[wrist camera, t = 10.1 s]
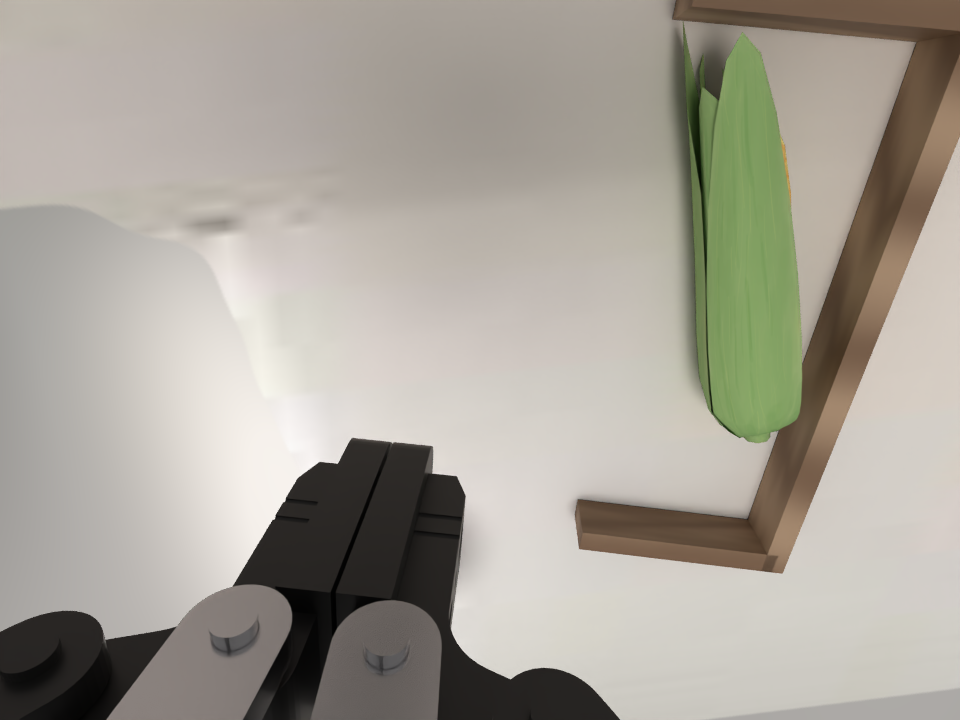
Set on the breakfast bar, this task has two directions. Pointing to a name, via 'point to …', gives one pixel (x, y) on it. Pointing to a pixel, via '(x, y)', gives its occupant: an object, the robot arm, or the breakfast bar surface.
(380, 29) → the breakfast bar surface
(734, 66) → the edible corn
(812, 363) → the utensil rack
